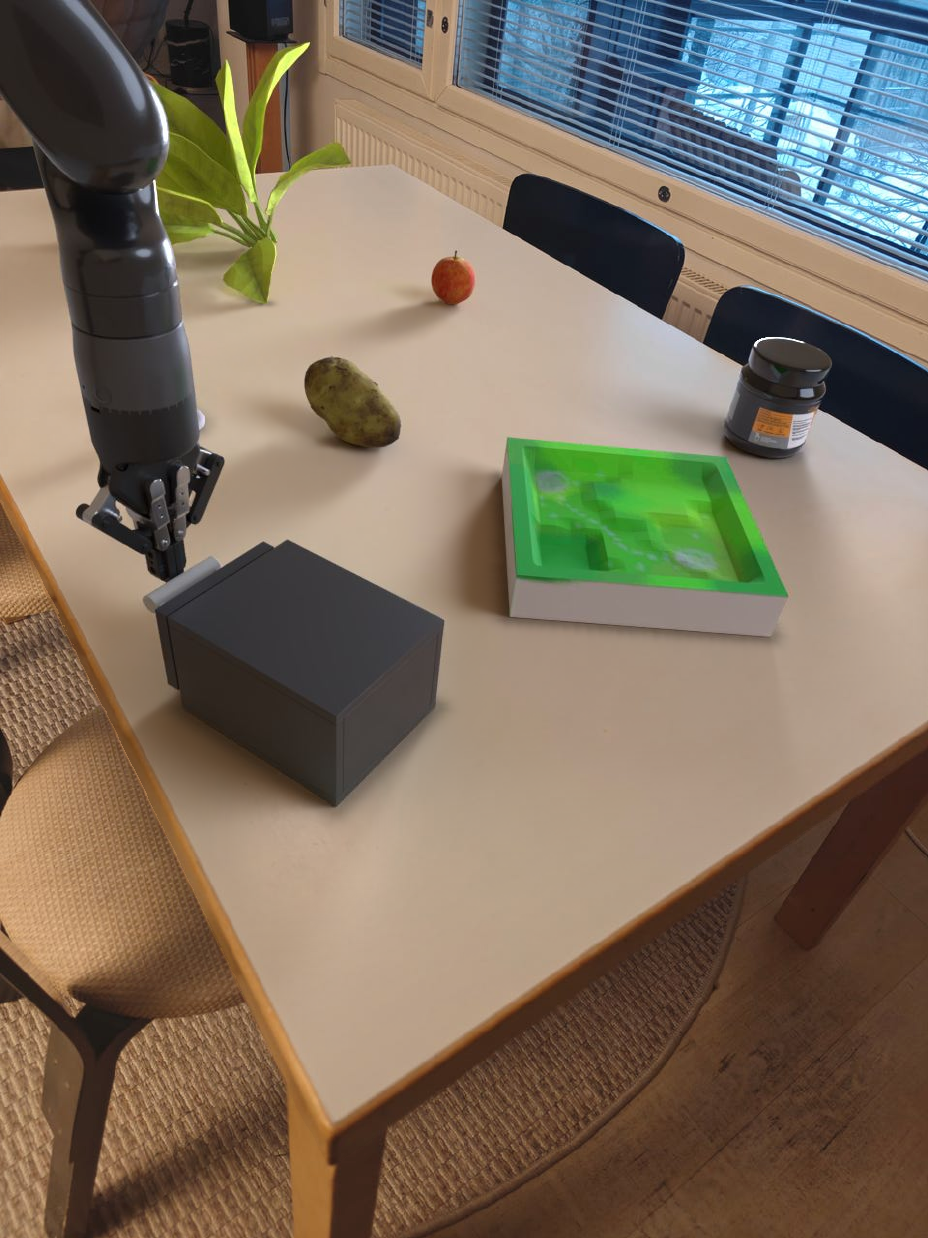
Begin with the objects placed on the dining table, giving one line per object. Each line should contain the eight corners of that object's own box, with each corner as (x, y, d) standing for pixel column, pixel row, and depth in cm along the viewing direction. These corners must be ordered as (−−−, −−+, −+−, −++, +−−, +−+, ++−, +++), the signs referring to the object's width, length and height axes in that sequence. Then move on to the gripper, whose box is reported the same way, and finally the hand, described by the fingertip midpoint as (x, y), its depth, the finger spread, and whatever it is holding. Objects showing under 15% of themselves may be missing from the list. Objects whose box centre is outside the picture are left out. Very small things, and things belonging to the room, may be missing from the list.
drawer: (129, 660, 70) (113, 585, 65) (231, 592, 78) (224, 520, 73) (307, 772, 63) (304, 698, 58) (399, 686, 71) (404, 614, 66)
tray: (713, 494, 101) (725, 456, 97) (770, 636, 82) (788, 596, 78) (501, 475, 99) (507, 437, 96) (509, 616, 80) (517, 574, 77)
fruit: (466, 313, 135) (472, 261, 130) (424, 305, 136) (428, 253, 131) (477, 299, 140) (483, 248, 135) (436, 291, 141) (440, 240, 136)
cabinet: (182, 708, 68) (167, 616, 62) (291, 627, 76) (287, 538, 70) (336, 807, 62) (336, 717, 56) (435, 707, 70) (445, 619, 64)
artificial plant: (153, 250, 160) (25, 103, 135) (347, 116, 154) (250, -63, 129) (196, 389, 138) (51, 244, 113) (425, 239, 132) (326, 50, 107)
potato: (345, 465, 98) (345, 400, 92) (295, 415, 105) (293, 352, 100) (407, 450, 101) (411, 387, 96) (355, 403, 109) (356, 342, 104)
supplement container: (804, 468, 108) (841, 378, 100) (720, 451, 109) (750, 361, 101) (799, 430, 115) (832, 344, 108) (720, 414, 117) (748, 328, 109)
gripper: (172, 337, 66) (195, 524, 77) (18, 395, 57) (70, 597, 68) (245, 368, 63) (258, 557, 74) (95, 434, 54) (136, 637, 65)
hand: (168, 576), depth 71 cm, fingers closed
